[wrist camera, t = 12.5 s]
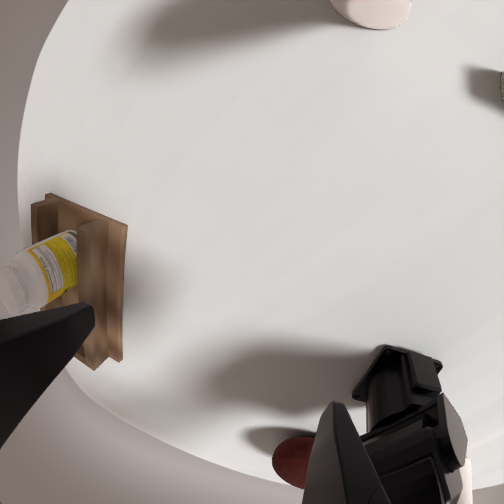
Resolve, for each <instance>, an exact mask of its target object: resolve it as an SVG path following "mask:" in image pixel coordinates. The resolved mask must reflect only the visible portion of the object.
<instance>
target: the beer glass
mask: <svg viewBox="0 0 504 504" xmlns="http://www.w3.org/2000/svg"><path fill="white" fill-rule="evenodd" d="M330 2H331V4H332V5H333V7H334V8H335V9H336V11H337V12H338V13H340V14H341V15H342V16H343V17H345V18H346V19H347V20H349V21H351V22H353V23H355V24H357V25H360V26H363V27H366V28H371V29H379V30H383V29H391V28H395V27H397V26H399V25H401V24H403V23H404V22H405V21H406V20H407V19H408V17H409V15H410V12H411V7H412V0H330Z"/></svg>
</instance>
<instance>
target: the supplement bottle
mask: <svg viewBox="0 0 504 504" xmlns="http://www.w3.org/2000/svg"><path fill="white" fill-rule="evenodd" d="M76 285H77V231H74V230H66V231H64V232H61V233H58V234H56V235H54V236H52V237H49V238H47V239H45V240H42V241H40V242H38V243H36V244H34V245H31V246H29V247H27V248H25V249H23V250H21V251H19V252H17V253H16V254H15V255H14V256H13V258H12V261H11V266H7V267H5V268H3V269H1V270H0V300H1V301H2V303H3V305H4V307H5V308H6V309H7V311H8V312H9V313H10V314H12V315H17V314H19V313H20V312H22V311H24V310H25V309H26V308H27V307H28V306H30V307H32V308H36V309H38V308H42V307H43V306H45V305H47V304H48V303H50V302H51V301H53V300H54V299H56V298H57V297H59V296H60V295H62V294H63V293H65V292H66V291H68V290H69V289H71V288H73V287H74V286H76Z"/></svg>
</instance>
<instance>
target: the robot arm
mask: <svg viewBox="0 0 504 504" xmlns="http://www.w3.org/2000/svg"><path fill="white" fill-rule="evenodd" d="M95 324H96V320H95V309H94V306H93V305H91V304H89V303H88V302H80V303H75V304H71V305H66V306H62V307H57V308H53V309H48V310H43V311H39V312H34V313H30V314H25V315H20V316H16V317H11V318H8V319H2V320H0V449H1V447H2V445H3V444H4V443H5V442H6V440H7V439H8V437H9V436H10V435H11V433H12V432H13V431H14V429H15V428H16V427H17V426H18V424H19V423H20V421H21V420H22V419H23V417H24V416H25V415H26V414H27V412H28V411H29V410H30V409H31V407H32V406H33V405H34V403H35V402H36V401H37V400H38V398H39V397H40V396H41V395H42V394H43V392H44V391H45V390H46V389H47V387H48V386H49V385H50V384H51V383H52V381H53V380H54V379H55V378H56V377H57V375H58V374H59V373H60V372H61V371H62V370H63V368H64V367H65V366H66V365H67V364H68V363H69V361H70V360H71V359H72V358H73V357H74V355H75V354H76V353H77V351H78V350H79V348H80V347H81V346H82V344H83V343H84V341H85V340H86V338H87V337H88V336H89V334H90V333H91V331H92V330H93V329H94V327H95ZM387 351H390V352H388V353H386V352H387ZM437 366H438V367H437ZM442 368H443V365H442V363H441V362H440V361H438V360H434V359H432V358H431V357H428V356H425V355H422V354H418V353H415V352H412V351H405V350H402V349H399V348H395V347H392V346H385V347H384V348H383V349H382V350H381V352H380V353H379V355H378V356H377V358H376V359H375V361H374V362H373V364H372V365H371V367H370V368H369V370H368V371H367V372H366V374H365V375H364V377H363V378H362V379H361V381H360V382H359V384H358V385H357V386H356V388H355V389H354V390H353V392H352V398H353V399H355V400H359V401H363V402H366V434H364V435H361V436H359V434H358V432H357V430H356V428H355V426H354V424H353V422H352V419H351V417H350V415H349V413H348V411H347V409H346V407H345V405H344V404H343V403H341V402H337V401H332V402H330V404H329V405H328V407H327V408H326V409H325V411H324V412H323V414H322V415H321V418H320V421H319V425H318V429H317V432H316V436H315V440H314V444H313V447H312V451H311V455H310V460H309V465H308V472H307V478H306V484H305V489H304V495H303V500H302V504H457V503H458V500H459V497H460V495H461V492H462V489H463V483H462V479H461V474H460V469H459V468H461V467H463V466H464V464H465V458H466V450H467V441H468V440H467V436H466V433H465V430H464V427H463V424H462V421H461V418H460V416H459V415H458V413H457V412H456V410H455V409H454V407H453V406H452V404H451V403H450V402H449V400H448V399H447V397H446V396H445V394H444V393H441V394H440V392H441V391H442V389H441V385H440V382H439V379H438V373H439V372H440V371H441V369H442ZM356 394H359V395H356ZM0 504H2V503H1V502H0Z"/></svg>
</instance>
